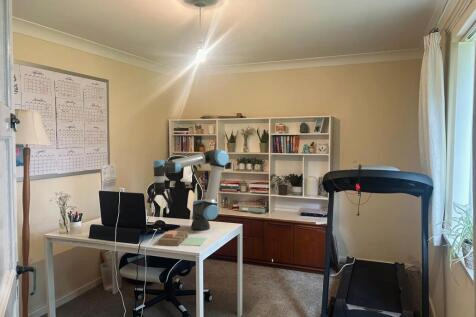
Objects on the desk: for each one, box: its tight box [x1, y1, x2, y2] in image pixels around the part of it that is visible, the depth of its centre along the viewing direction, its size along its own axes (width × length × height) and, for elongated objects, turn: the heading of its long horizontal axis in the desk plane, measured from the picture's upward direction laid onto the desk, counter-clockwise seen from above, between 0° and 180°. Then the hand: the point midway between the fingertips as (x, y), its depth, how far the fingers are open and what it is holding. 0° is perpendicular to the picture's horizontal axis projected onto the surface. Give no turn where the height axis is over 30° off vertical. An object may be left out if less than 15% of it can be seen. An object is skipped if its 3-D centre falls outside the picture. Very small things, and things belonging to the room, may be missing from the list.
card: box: [164, 230, 178, 237], centre depth 247 cm, size 9×6×2 cm, turn 171°
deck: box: [158, 230, 189, 247], centre depth 246 cm, size 22×14×4 cm, turn 171°
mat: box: [180, 236, 208, 247], centre depth 244 cm, size 18×14×1 cm
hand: (159, 212), depth 247 cm, fingers open, 11 cm apart
